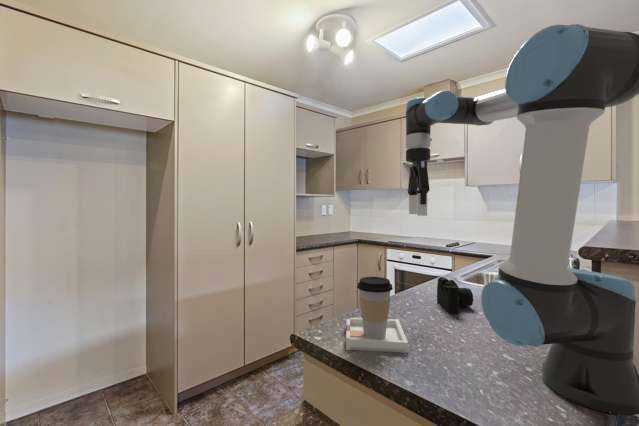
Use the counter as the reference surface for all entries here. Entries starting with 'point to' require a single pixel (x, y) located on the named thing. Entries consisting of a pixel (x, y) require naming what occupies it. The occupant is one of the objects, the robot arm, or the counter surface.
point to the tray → (390, 343)
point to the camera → (452, 296)
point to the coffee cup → (374, 305)
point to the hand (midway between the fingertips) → (417, 214)
